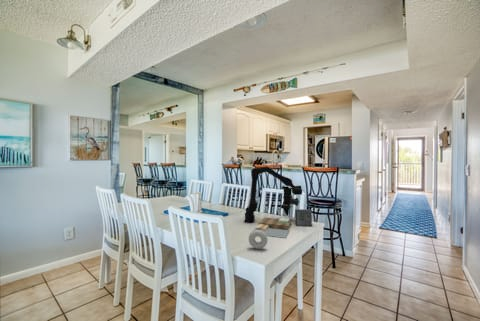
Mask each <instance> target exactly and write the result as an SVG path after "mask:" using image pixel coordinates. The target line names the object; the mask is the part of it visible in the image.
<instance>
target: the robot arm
mask: <svg viewBox="0 0 480 321" xmlns="http://www.w3.org/2000/svg"><path fill="white" fill-rule="evenodd" d="M264 173H268V174H269V175H270V176H272V177H274V178H276V179H277V180H279V182H281V183H282V184H283V185H282V186H281V187H280V189H281V190H283V196H282V198H283V201H282V204H281V205H280V209H282V210H283V211H284V214H285V215H286V217H288V216H289V214H290V209H291V208H292V207H293V205H294V206H296V207H298V206H299V204H300V200H299V198H298V197H295V198H293V196H301V195H303V189H302V186H301V185H294V183H293V180H292V179H291V178H289V177H287V176H284V175H281V174H280V173H278V172H277V171H275V170H273V169H272V168H270V167H269V166H267V165H265V166H262V167H261V166H260V167H258V168H257V167H253V168H251V169H250V175H251V176H250V177H251V185H250V186H251V188H250V196H249V197H250V198H249V201H248V205H247V207H246V208H245V210H244V211H245V213H244V221H243V222H244V223H249V224H253V223H255V221H256V215H255V212H256V211H257V209H258V201H257V200H256V197H257V196H256V195H257V185H258V179H259V176H260V174H264ZM292 194H293V196H292Z"/></svg>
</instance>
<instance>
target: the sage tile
mask: <svg viewBox="0 0 480 321" xmlns="http://www.w3.org/2000/svg"><path fill="white" fill-rule="evenodd" d="M278 219H279V223H283V224H288V223H289V221H290V220H291V219H290V218H289V217H280V218H278Z"/></svg>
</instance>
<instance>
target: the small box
mask: <svg viewBox="0 0 480 321" xmlns="http://www.w3.org/2000/svg"><path fill="white" fill-rule="evenodd" d="M294 213H295V214H294V216H295V220H294V221H295V222H294V224H295V226H297V227H313V224H312V223H313V222H312V221H313V220H312V219H313V217H312V216H313V215H312V210H311V209H305V208H304V209H302V208H301V209H296V208H295V212H294Z"/></svg>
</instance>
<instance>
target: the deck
mask: <svg viewBox="0 0 480 321" xmlns="http://www.w3.org/2000/svg"><path fill="white" fill-rule="evenodd" d="M279 219H280V218H273V217H272V218H271V217H263V218H262V219H261V220H260V221H258V225H260V224H264V225H269V228H272V229H281V230H289V231H290V228H291V226H292V220H291V219H290V221H289V223H288V224H283V223H279Z"/></svg>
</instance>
